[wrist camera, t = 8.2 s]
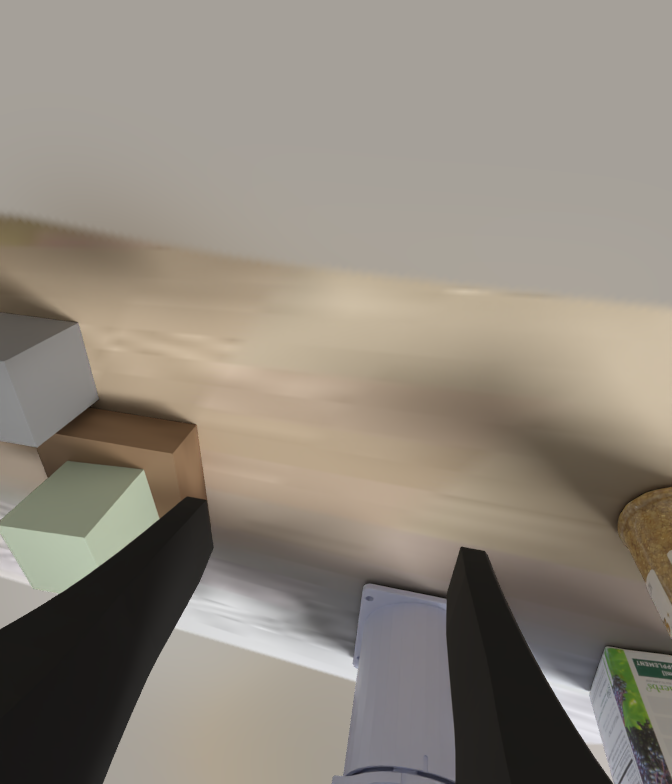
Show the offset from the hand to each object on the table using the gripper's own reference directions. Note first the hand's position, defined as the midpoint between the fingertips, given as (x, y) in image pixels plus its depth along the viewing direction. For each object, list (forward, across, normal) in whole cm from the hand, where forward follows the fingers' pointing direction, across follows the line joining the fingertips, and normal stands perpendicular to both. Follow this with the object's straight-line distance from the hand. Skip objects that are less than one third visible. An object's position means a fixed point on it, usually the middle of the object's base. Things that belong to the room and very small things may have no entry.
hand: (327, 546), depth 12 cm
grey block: (+10, +17, +1) cm, 20 cm away
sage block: (+7, +13, +8) cm, 17 cm away
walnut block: (+10, +13, +8) cm, 18 cm away
